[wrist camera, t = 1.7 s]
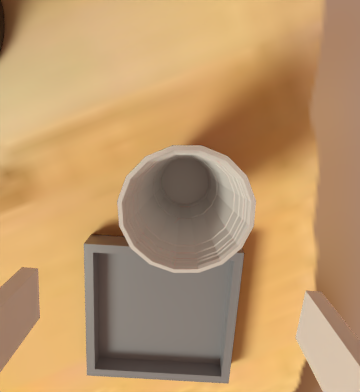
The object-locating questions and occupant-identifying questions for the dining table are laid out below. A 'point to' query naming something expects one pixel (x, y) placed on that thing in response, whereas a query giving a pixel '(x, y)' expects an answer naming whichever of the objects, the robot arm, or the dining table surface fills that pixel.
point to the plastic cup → (186, 208)
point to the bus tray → (157, 316)
